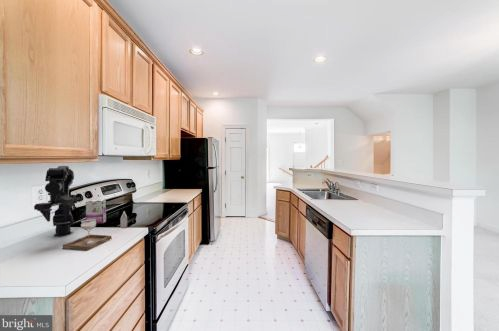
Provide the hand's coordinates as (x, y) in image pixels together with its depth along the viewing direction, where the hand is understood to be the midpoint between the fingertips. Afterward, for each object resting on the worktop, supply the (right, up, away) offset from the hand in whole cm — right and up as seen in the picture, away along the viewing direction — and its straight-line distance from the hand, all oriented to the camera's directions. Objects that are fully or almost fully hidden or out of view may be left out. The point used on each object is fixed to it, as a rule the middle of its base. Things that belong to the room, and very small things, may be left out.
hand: (57, 219), depth 118 cm
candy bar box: (-5, -12, +37) cm, 40 cm away
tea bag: (+19, -13, +30) cm, 38 cm away
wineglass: (+18, -13, -1) cm, 22 cm away
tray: (+18, -13, -1) cm, 22 cm away
